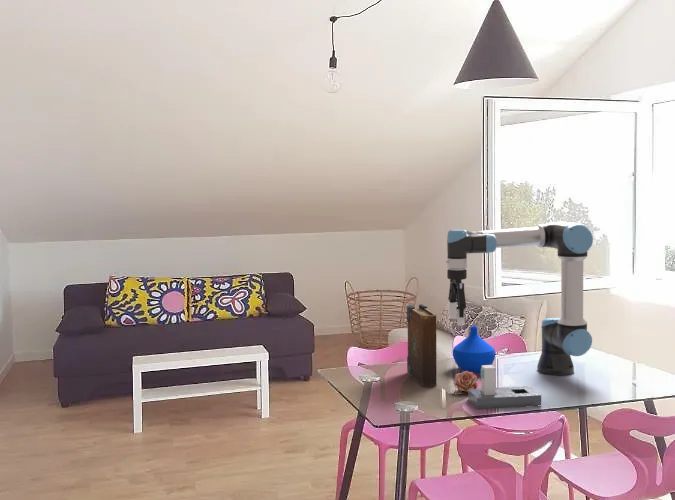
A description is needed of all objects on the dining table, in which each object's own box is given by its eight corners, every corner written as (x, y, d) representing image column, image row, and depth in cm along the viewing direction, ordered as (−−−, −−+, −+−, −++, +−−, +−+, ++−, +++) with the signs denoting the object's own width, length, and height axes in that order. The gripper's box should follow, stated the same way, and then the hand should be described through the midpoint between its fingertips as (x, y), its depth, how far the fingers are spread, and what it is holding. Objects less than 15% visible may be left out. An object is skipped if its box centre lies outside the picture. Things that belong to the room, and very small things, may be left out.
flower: (451, 384, 299) (451, 371, 294) (473, 378, 300) (473, 365, 295) (459, 403, 292) (459, 390, 287) (482, 397, 293) (481, 384, 287)
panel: (529, 397, 285) (529, 386, 285) (541, 407, 273) (541, 395, 273) (468, 400, 283) (468, 389, 283) (477, 410, 271) (477, 398, 271)
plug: (492, 401, 280) (492, 364, 278) (495, 404, 276) (495, 367, 274) (480, 402, 279) (480, 365, 278) (483, 405, 275) (483, 368, 274)
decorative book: (407, 372, 324) (406, 304, 320) (423, 371, 325) (422, 303, 322) (422, 388, 301) (421, 314, 297) (439, 386, 302) (438, 313, 299)
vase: (448, 373, 321) (448, 330, 319) (457, 363, 338) (457, 321, 336) (491, 377, 314) (491, 332, 312) (498, 366, 331) (498, 324, 329)
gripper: (441, 265, 306) (441, 316, 309) (454, 273, 282) (454, 328, 284) (459, 264, 307) (459, 315, 309) (474, 272, 282) (474, 328, 284)
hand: (456, 322), depth 296 cm, fingers open, 13 cm apart
